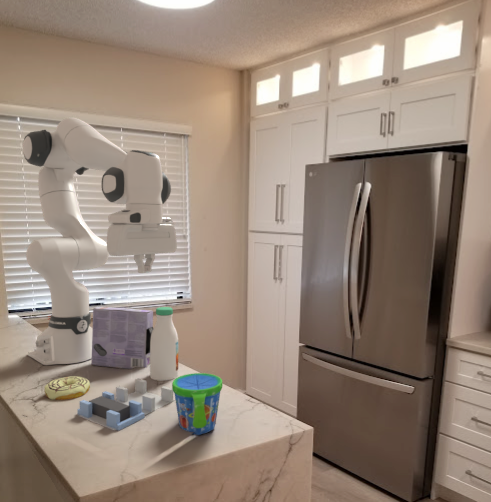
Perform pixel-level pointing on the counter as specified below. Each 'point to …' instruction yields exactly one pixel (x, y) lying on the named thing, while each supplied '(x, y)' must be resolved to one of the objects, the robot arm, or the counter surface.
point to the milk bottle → (164, 347)
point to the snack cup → (197, 401)
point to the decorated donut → (67, 388)
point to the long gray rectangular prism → (109, 408)
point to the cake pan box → (121, 337)
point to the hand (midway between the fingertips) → (144, 272)
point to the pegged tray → (137, 401)
